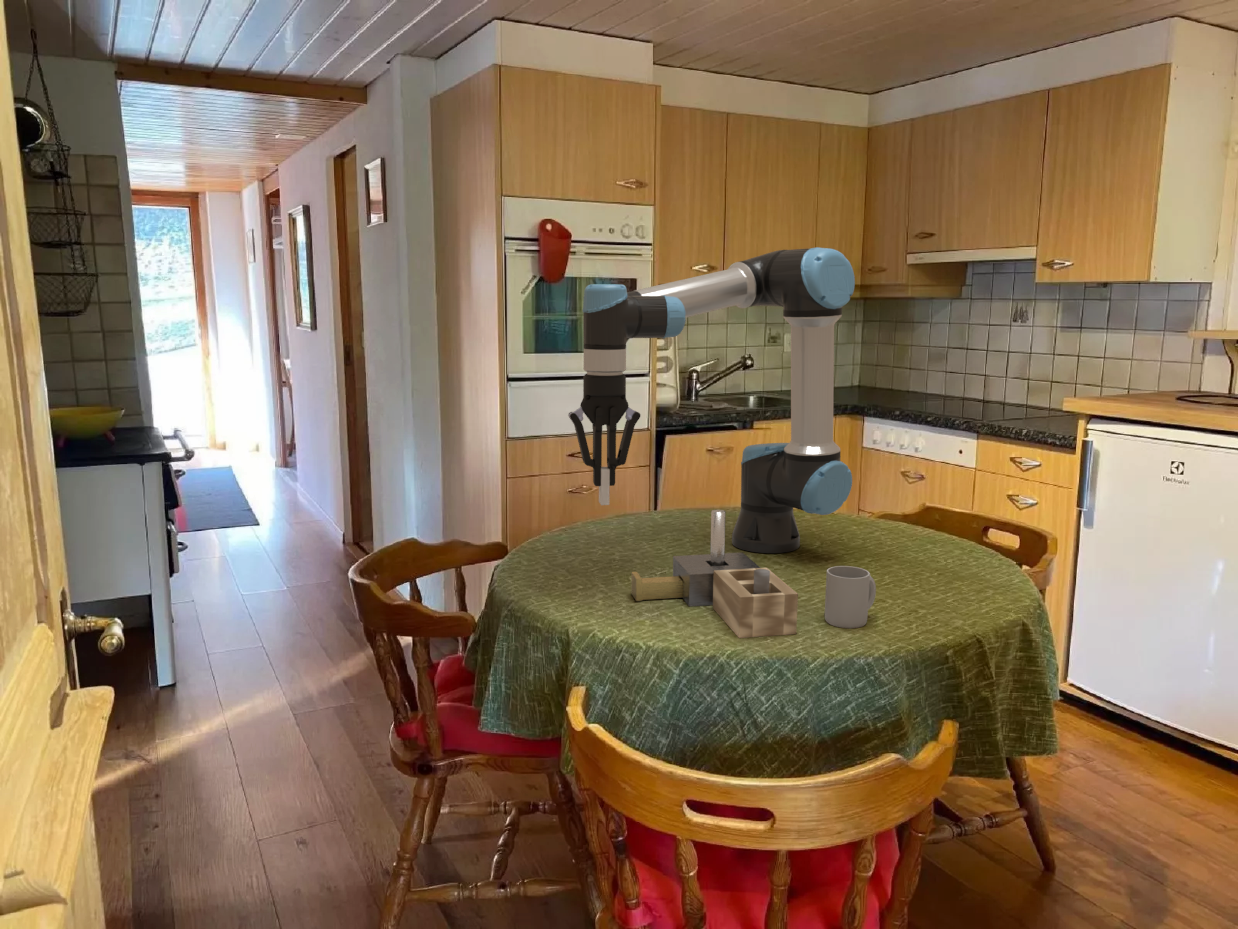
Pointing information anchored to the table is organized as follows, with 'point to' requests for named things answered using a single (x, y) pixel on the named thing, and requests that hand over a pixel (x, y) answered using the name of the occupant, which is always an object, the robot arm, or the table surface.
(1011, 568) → the table surface
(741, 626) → the rack
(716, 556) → the round-ended peg
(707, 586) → the socket block
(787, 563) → the table surface
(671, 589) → the brass square peg
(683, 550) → the table surface
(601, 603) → the table surface
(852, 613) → the cup
